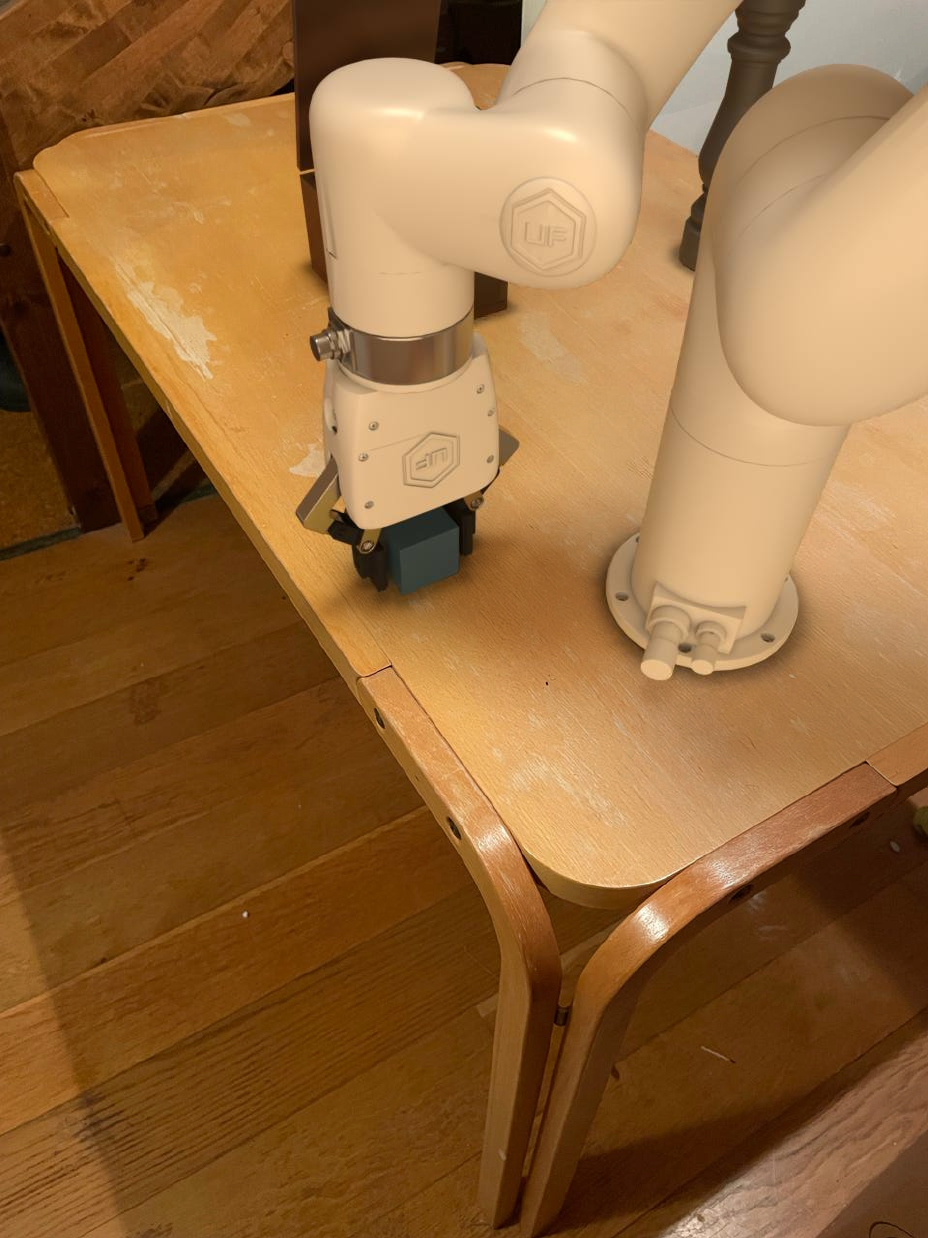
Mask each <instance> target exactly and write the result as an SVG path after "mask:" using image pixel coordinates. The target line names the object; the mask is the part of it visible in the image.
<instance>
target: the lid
mask: <svg viewBox="0 0 928 1238" xmlns="http://www.w3.org/2000/svg"><path fill="white" fill-rule="evenodd" d="M441 4H442V0H291V22H292V27H291V28H292V56H293V57H292V58H293V86H294V89H293V91H294V121H295V148H296V149H295V151H296V167H297V169H298V171H299V172H300V173H302V172H306V171H310V170H314V163H313V154H312V146H311V138H310V124H309V110H310V105H311V101H312V97H313V94H314V92H315V90H316V88H317V86H318V85H319V84H320V82H321V81H322V80H323V79H324V78H326V77H327V76H328V75H329V74H330V73H331V72H333V71H335V70H337V69H339V68H341V67H344V66H346V65H349V64H353V63H356V62H360V61H364V60H370V59H378V58H408V59H416V60H421V61H426V62H430V63H433V64H435V59H436V49H437V40H438V33H439V32H438V31H439V23H440V11H441Z"/></svg>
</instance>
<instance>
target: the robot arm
mask: <svg viewBox="0 0 928 1238" xmlns="http://www.w3.org/2000/svg"><path fill="white" fill-rule="evenodd" d="M742 1H743V0H546V1H545V2H544V4H543V6H542V8H541V9H540V12H539V14H538V15H537V17H536V18H535V21H534V23H533V24H532V26H531V27H530V30H529V31H528V33H527V35H526V37H525V38H524V40H523V42H522V44H521V46H520V48H519V50H518V51H517V53H516V55H515V57H514V59H513V61H512V63H511V65H510V67H509V69H508V71H507V73H506V75H505V77H504V78H503V79H504V80H503V81H502V83H501V87H500V88H499V92H498V94H497V96H496V98H495V101H494V104H493V105H492V106H491V107H488V108H486V109H481V110H479V109H478V108H477V107H476V106H477V105H475V101H474V98H473V94H472V93H471V91H470V89H469V88H468V86H467V85H466V83H465V82H464V80H463V79H462V78H461V77H460V76H458V75H457V74H456V73H455V72H453V71H452V70H450V69H448V68H447V67H444V66H442V65H441V64H437V63H434V64H433V63H430V62H426V61H421V60H416V59H408V58H378V59H370V60H364V61H360V62H356V63H353V64H349V65H346V66H344V67H341V68H339V69H337V70H335V71H333V72H331V73H330V74H329V75H328V76H327V77H326V78H324V79H323V80H322V81H321V82H320V84H319V85H318V86H317V88H316V90H315V92H314V94H313V97H312V101H311V105H310V110H309V124H310V138H311V146H312V154H313V163H314V169H313V171H315V179H316V187H317V196H318V204H319V212H320V220H321V228H322V237H323V244H324V252H325V261H326V269H327V277H328V284H327V286H328V293H329V301H330V302H329V303H330V306H328V307H327V308H326V310H327V318H328V322H327V326H326V328H324V329H322V330H321V332H319V333H316V334H313V335H309V340H308V341H309V346H310V350H311V353H312V355H313V357H314V359H315V360H316V361H317V362H319V363H320V362H322V361H325V360H326V362H325V369H324V378H323V389H322V413H321V414H322V415H321V416H322V421H321V422H322V442H323V443H322V444H323V456H324V457H323V458H324V465H325V468H324V469H323V471H322V472H321V473H320V474H319V476H318V477H317V479H316V481H315V482H314V483H313V484H312V486H311V487H310V488H309V490H308V492H307V493H306V495H305V496H304V498H303V499H302V500H301V502H300V503H299V505H297V508H296V509H295V511H294V512H295V513H294V514H295V516H296V518H297V519H298V521H299V523H300V524H301V525H302V527H303V528H304V529H305V530H307V531H311V532H314V533H318V534H320V535H323V536H325V535H328V536H330V537H331V538H332V539H333V540H335V541H337V542H340V543H342V544H346V545H348V546H351V547H350V548H351V555H352V562H353V565H354V568H355V570H356V572H357V574H358V575H359V578H360V579H362V580H365V579H367V578H368V579H369V580H370V582H371V584H372V586H373V587H374V589H376V591H377V592H378V593H382V592H384V591H386V590H387V588H388V587H389V581H388V579H389V578H388V574H387V567H386V556H385V550H384V548H383V546H382V545H381V543H380V542H379V540H378V538H379V535H380V532H381V529H382V528H383V527H386V526H389V525H392V524H395V523H398V522H400V521H403V520H406V519H408V518H411V517H414V516H416V515H419V514H422V513H424V512H427V511H429V510H432V509H434V508H437V507H440V506H442V507H443V508H444V509H445V511H446V512H447V513H448V514H449V516H450V517H451V518H452V519H453V520H454V522H455V523H456V524H457V525H458V527H459V556H463V557H467V556H470V555H472V554H473V538H474V537H473V536H474V535H475V534H476V527H477V526H476V525H477V524H476V521H477V520H476V519H477V510H479V509H480V508H482V506H483V505H484V503H485V498H484V496H483V495H484V494H485V493H486V492H487V490H488V489H489V488H490V486H491V485H492V484H493V483H494V482H495V481H496V479H497V478H498V477H499V475H500V473H501V469H500V468H501V467H505V464H507V462H508V461H509V460H510V459H511V458H512V457H513V455H514V454H515V453H516V452H517V450H519V447H520V440H518V439H517V437H515V436H514V434H512V432H511V431H510V430H508V429H507V428H506V427H504V426H503V425H501V424H499V410H498V400H497V392H496V385H495V380H494V379H495V378H494V373H493V367H492V363H491V359H490V358H491V357H490V353H489V350H488V344H487V342H486V340H485V338H484V337H483V336H482V335H481V334H479V333H478V332H477V331H476V330H475V329H474V328H475V327H474V325H475V323H474V322H475V320H474V271H476V272H479V273H482V274H485V275H488V276H491V277H494V278H497V279H501V280H504V281H507V282H508V283H511V284H515V285H518V286H521V287H525V288H531V289H535V290H541V291H557V292H558V291H559V292H561V291H571V290H575V289H580V288H583V287H587V286H589V285H591V284H594V283H596V282H598V281H599V280H600V279H602V278H604V277H605V276H607V275H608V274H609V273H610V272H612V271H613V270H614V268H616V267H617V266H618V264H620V262H621V261H622V259H623V258H624V256H625V255H626V254H627V252H628V250H629V248H630V246H631V244H632V243H633V240H634V237H635V234H636V232H637V227H638V224H639V218H640V213H641V205H642V204H641V203H642V192H643V179H644V162H645V146H646V137H647V134H648V132H649V130H650V128H651V126H652V125H653V123H654V122H655V120H656V119H657V117H658V116H659V114H660V113H661V111H662V110H663V108H664V107H665V105H666V104H667V103H668V101H669V100H670V98H671V96H672V95H673V94H674V93H675V91H676V89H677V88H678V87H679V85H680V83H681V82H682V81H683V79H684V78H685V76H686V75H687V74H688V72H690V70H691V68H692V67H693V65H694V64H695V63H696V62H697V60H698V58H699V57H700V56H701V54H702V53H703V52H704V50H705V49H706V48H707V46H708V44H710V42H711V41H712V40H713V38H714V37H715V36H716V34H717V33H718V32H719V31H720V29H721V28H722V27H723V25H724V24H725V23H726V22H727V20H728V19H729V18H730V17H731V15H733V13H735V9H736V8H737V7H738V6H739V5H740V4H741V3H742ZM693 276H694V277H693V281H692V286H691V287H692V288H691V294H690V300H689V303H688V304H689V305H688V311H687V316H686V321H685V326H684V332H683V336H682V342H681V346H680V350H679V355H678V360H677V364H676V370H675V374H674V378H673V383H672V388H671V391H670V396H669V400H668V405H667V409H666V414H665V418H664V424H663V426H662V431H661V436H660V440H659V445H658V450H657V455H656V459H655V463H654V468H653V471H652V472H653V473H652V478H651V482H650V487H649V490H648V494H647V495H648V496H647V500H646V505H645V508H644V513H643V518H642V522H641V527H640V530H639V531H638V532H636V533H635V534H633V535H631V536H629V538H628V539H626V540H625V541H624V542H623V543H622V544H621V545H620V546H619V547H618V548H617V550H616V551H615V553H614V554H613V556H612V558H611V560H610V562H609V565H608V568H607V572H606V573H607V574H606V579H605V598H606V601H607V605H608V608H609V611H610V612H611V614H612V616H613V618H614V619H615V622H616V624H617V625H618V626H619V627H620V628H621V630H622V631H623V632H624V633H625V635H626V636H627V637H628V638H630V639H631V640H632V641H633V642H634V643H636V644H637V645H638V646H639V647H640V648H642V649H643V650H644V654H643V656H642V660H641V664H640V666H639V668H640V670H641V673H642V674H643V675H644V676H646V677H647V678H649V679H652V680H655V681H665V680H668V679H670V678H671V676H673V673H674V671H675V670H674V669H675V666H676V665H677V666H681V667H686V668H688V669H692V671H693V672H695V673H697V674H698V675H703V676H706V675H710V674H712V673H713V672H714V671H715V672H717V671H732V670H733V671H734V670H737V669H743V668H747V667H750V666H753V665H755V664H758V663H760V662H762V661H764V660H766V659H768V658H769V657H770V656H772V655H773V654H774V653H776V652H777V651H779V649H780V648H781V647H782V646H783V645H784V644H785V643H786V642H787V640H788V638H789V636H790V634H791V633H792V631H793V628H794V626H795V624H796V621H797V618H798V615H799V601H800V600H799V595H798V590H797V586H796V584H795V582H794V579H793V577H792V575H791V573H790V570H791V568H792V566H793V563H794V561H795V559H796V556H797V554H798V551H799V549H800V547H801V545H802V542H803V540H804V538H805V535H806V532H807V530H808V528H809V526H810V523H811V521H812V519H813V516H814V513H815V511H816V509H817V507H818V504H819V502H820V500H821V497H822V495H823V492H824V490H825V488H826V485H827V482H828V480H829V478H830V475H831V473H832V471H833V468H834V466H835V464H836V462H837V459H838V457H839V455H840V452H841V449H842V448H843V445H844V443H845V441H846V440H847V438H848V435H849V433H850V432H851V428H852V426H853V424H857V423H862V422H865V421H869V420H873V419H876V418H879V417H882V416H884V415H887V414H891V413H893V412H894V411H897V410H899V409H901V408H903V407H906V406H907V405H909V404H912V403H914V402H916V401H918V400H921V399H922V398H924V397H926V396H927V395H928V82H926V83H925V84H924V85H923V87H921V88H920V89H919V91H917V92H916V93H913V92H912V91H910V90H909V89H908V88H907V87H906V86H905V85H904V84H903V83H901V82H900V81H899V80H898V79H896V78H894V77H893V76H892V75H890V74H888V73H886V72H883V71H882V70H879V69H877V68H874V67H870V66H868V65H867V66H866V65H861V64H853V63H830V64H824V65H819V66H816V67H812V68H810V69H805V70H802V71H800V72H798V73H796V74H794V75H792V76H789V77H788V78H786V79H784V80H783V81H781V82H779V83H778V84H776V85H775V86H773V87H772V89H771V90H769V91H768V92H767V93H765V94H764V95H763V96H762V97H761V98H760V99H759V100H758V101H757V102H756V103H755V104H754V105H753V106H752V107H751V108H750V109H749V110H748V111H747V112H746V114H745V115H744V116H743V117H742V118H741V120H740V121H739V123H738V124H737V125H736V127H735V128H734V130H733V131H732V133H731V135H730V137H729V138H728V140H727V142H726V144H725V146H724V148H723V150H722V152H721V154H720V156H719V159H718V162H717V164H716V167H715V170H714V173H713V176H712V180H711V184H710V187H709V191H708V196H707V201H706V206H705V212H704V217H703V223H702V229H701V236H700V243H699V249H698V256H697V263H696V269H695V271H694V275H693ZM341 497H342V501H343V504H344V509H343V511H340V510H338V509H335V508H334V506H335V505H336V503H337V502H338V501H339V500H340V498H341Z"/></svg>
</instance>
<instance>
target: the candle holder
mask: <svg viewBox="0 0 928 1238" xmlns="http://www.w3.org/2000/svg"><path fill="white" fill-rule="evenodd" d="M806 2H807V0H743V1H742V3H741V4H740V5H739V6H738V7H737V8H736V9H735V11H734V14H735V18H736V26H737V28H738V30H737V31H736V32H735V33H734V34H732V35H731V36H730V37H728V39H727V41H726V49H727V52H728V54H729V55H730V60H731V62H730V67H729V72H728V77H727V81H726V86H725V91H724V95H723V98H722V99H721V102H720V104H719V107H718V109H717V112H716V114H715V116H714V119H713V121H712V124H711V126H710V128H709V131H708V132H707V134H706V137H705V140H704V142H703V144H702V146H701V149H700V151H699V152H698V153H699V155H698V160H697V163H698V165H697V167H698V175H699V178H700V180H701V182H702V185H701V191H702V192H703V193H701V195H700V196H699V197H698V198H696V200H694V202H692V204H691V205H690V215H689V216H688V217H687V219H686V220H685V222H684V228H683V231H682V237H681V242H680V247H679V253H678V259H679V261H680V262H681V264H683V266H685V267H687V268H688V269H690V270H691V271H694V272H695V269H696V263H697V256H698V249H699V243H700V236H701V229H702V223H703V217H704V212H705V206H706V201H707V196H708V191H709V187H710V184H711V180H712V176H713V173H714V170H715V167H716V164H717V162H718V159H719V156H720V154H721V152H722V150H723V148H724V146H725V144H726V142H727V140H728V138H729V137H730V135H731V133H732V131H733V130H734V128H735V127H736V125H737V124H738V123H739V121H740V120H741V118H742V117H743V116H744V115H745V114H746V112H747V111H748V110H749V109H750V108H751V107H752V106H753V105H754V104H755V103H756V102H757V101H758V100H759V99H760V98H761V97H762V96H763V95H764V94H765V93H767V92H768V91H769V90H771V89H772V88H773V87H774V83H775V79H776V76H777V71H778V67H779V65H780V64H781V63H782V61H783V60H785V59H786V58H787V57H788V56H789V54H790V52H791V49H792V45H791V43H790V40H789V39H788V38H787V37H786V34H787V33H788V32H789V31H790V29H791V27H792V25H793V24H794V22H795V21H796V20H797V19H798V18H799V15H800V11H801V10H802V9H803V8H804V7H805V6H806Z"/></svg>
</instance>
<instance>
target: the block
mask: <svg viewBox="0 0 928 1238" xmlns="http://www.w3.org/2000/svg"><path fill="white" fill-rule="evenodd" d="M378 540H379V542H380V543H381V545H382V546H383V548H384V550H385V556H386V567H387V576H388V577H389V578H390V579H391V581H392V582H393V583H394V585H395V586H396V588H397V589H398V591H399V592H400V593H401V595H402V596H406V595H408V594H410V593H411V594H412V593H413V592H415V591H418V590H421V589H422V588H425V587H428V586H430V585H432V584H434V583H437V582H439V581H442V580H444V579H447V578H449V577H451V576H454V575H456V574H458V573H459V572H460V553H459V527H458V525H457V524H456V523H455V522H454V520H453V519H452V518H451V517H450V516H449V514H448V513H447V512H446V511H445V509H444V508H443V507H442V506H440V507H437V508H434V509H432V510H429V511H427V512H424V513H422V514H419V515H416V516H414V517H411V518H408V519H406V520H403V521H400V522H398V523H395V524H392V525H389V526H386V527H383V528H382V529H381V532H380V535H379V538H378Z"/></svg>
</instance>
